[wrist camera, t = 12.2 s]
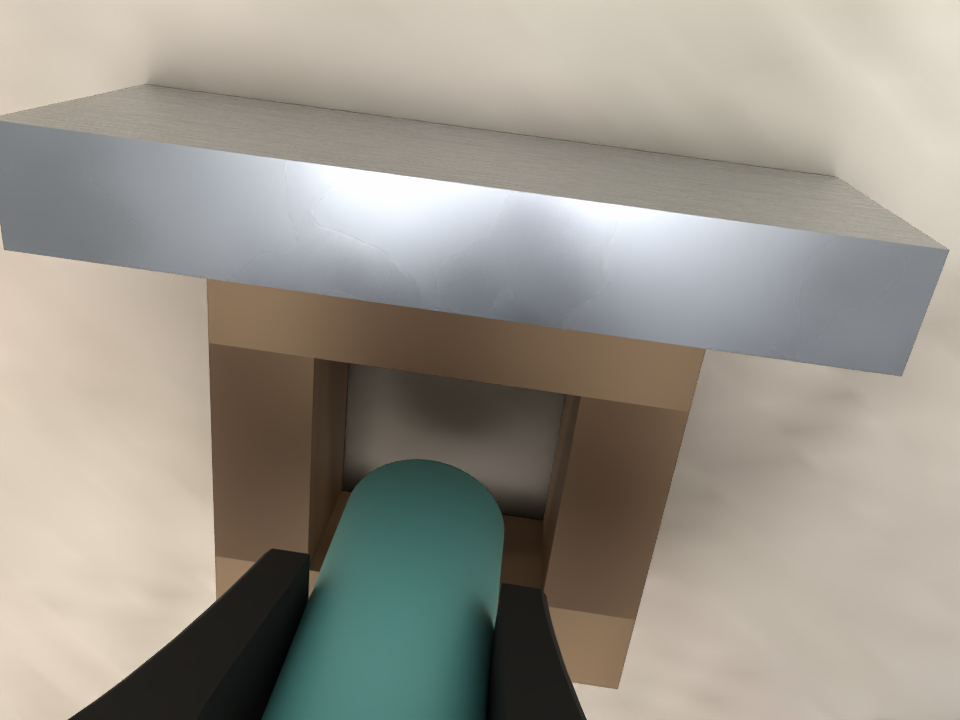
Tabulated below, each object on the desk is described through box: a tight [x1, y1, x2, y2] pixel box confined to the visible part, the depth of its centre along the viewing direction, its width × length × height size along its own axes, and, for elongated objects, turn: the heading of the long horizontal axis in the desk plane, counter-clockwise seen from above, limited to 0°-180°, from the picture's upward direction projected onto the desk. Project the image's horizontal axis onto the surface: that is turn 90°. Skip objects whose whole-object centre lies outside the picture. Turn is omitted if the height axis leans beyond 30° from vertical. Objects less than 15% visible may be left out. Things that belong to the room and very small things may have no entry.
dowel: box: [261, 459, 504, 720], centre depth 11 cm, size 3×3×8 cm
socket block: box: [207, 279, 705, 689], centre depth 17 cm, size 9×9×3 cm
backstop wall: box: [0, 84, 949, 376], centre depth 14 cm, size 14×2×5 cm, turn 83°
